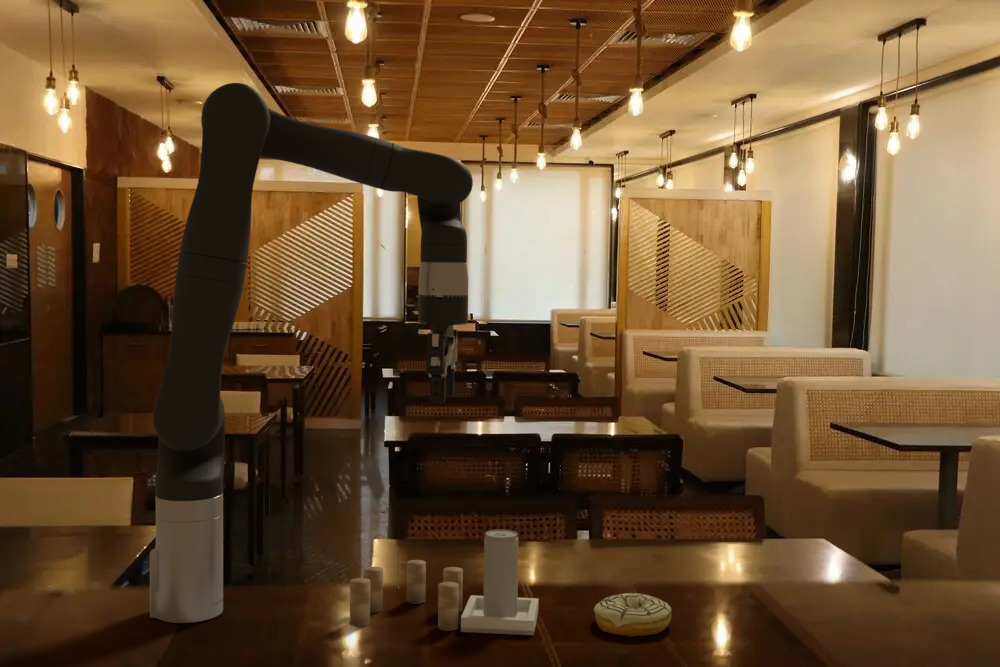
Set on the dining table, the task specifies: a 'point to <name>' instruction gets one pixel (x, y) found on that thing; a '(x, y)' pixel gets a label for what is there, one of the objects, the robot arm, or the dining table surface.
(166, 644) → the dining table surface
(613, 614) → the decorated donut
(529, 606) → the parts tray
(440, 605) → the posts
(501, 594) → the beverage can
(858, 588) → the dining table surface
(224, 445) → the robot arm
